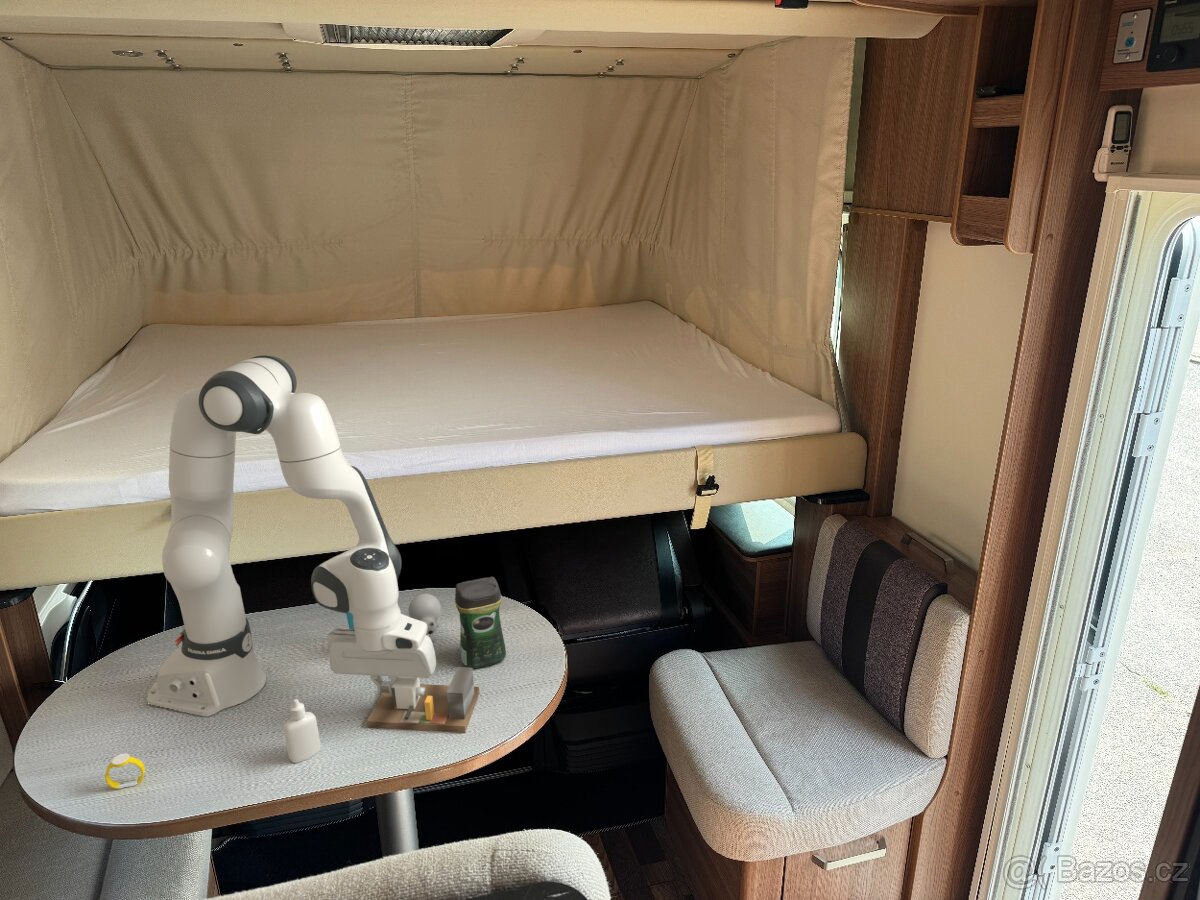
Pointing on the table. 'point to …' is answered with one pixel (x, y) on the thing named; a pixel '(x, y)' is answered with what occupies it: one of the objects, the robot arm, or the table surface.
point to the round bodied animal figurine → (426, 612)
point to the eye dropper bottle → (301, 734)
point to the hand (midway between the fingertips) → (386, 691)
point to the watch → (120, 762)
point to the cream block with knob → (406, 693)
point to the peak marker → (429, 707)
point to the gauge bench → (448, 704)
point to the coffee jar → (480, 622)
